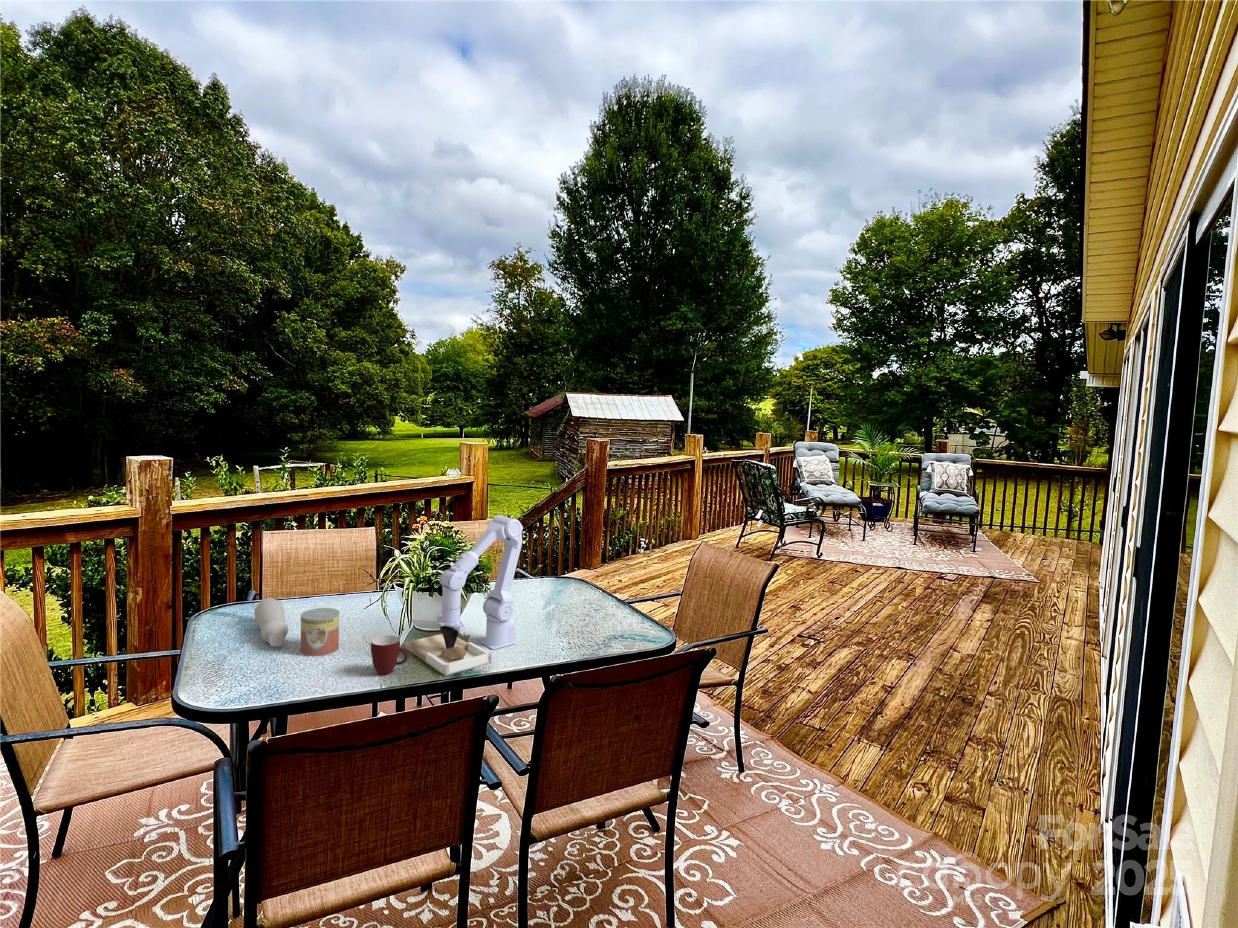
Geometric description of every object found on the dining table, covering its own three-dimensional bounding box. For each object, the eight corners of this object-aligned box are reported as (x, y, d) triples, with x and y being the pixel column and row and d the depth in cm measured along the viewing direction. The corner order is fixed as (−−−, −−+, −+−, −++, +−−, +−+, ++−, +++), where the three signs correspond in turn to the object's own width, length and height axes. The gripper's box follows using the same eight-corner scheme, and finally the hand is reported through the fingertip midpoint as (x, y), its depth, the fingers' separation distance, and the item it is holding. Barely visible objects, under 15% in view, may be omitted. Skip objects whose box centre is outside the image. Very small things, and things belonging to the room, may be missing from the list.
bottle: (247, 614, 222) (253, 646, 197) (264, 591, 224) (272, 620, 199) (272, 624, 226) (281, 657, 202) (288, 602, 228) (299, 632, 204)
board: (448, 637, 219) (449, 632, 219) (470, 650, 209) (470, 644, 209) (405, 648, 208) (405, 642, 208) (425, 661, 198) (425, 655, 198)
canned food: (296, 657, 196) (296, 620, 195) (304, 643, 207) (304, 608, 206) (335, 655, 199) (336, 618, 198) (341, 642, 210) (342, 607, 209)
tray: (470, 650, 209) (470, 641, 209) (491, 662, 200) (491, 653, 200) (425, 662, 198) (425, 652, 198) (445, 675, 189) (445, 666, 189)
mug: (408, 665, 195) (409, 634, 194) (406, 676, 187) (407, 644, 186) (371, 667, 192) (372, 635, 191) (368, 679, 184) (369, 645, 183)
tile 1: (457, 650, 204) (458, 645, 204) (465, 655, 200) (466, 650, 200) (443, 653, 200) (443, 649, 200) (451, 658, 197) (451, 654, 197)
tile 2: (455, 653, 205) (456, 649, 205) (463, 658, 201) (464, 654, 201) (441, 657, 201) (442, 652, 201) (449, 662, 198) (450, 657, 198)
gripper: (428, 603, 204) (427, 643, 205) (451, 615, 194) (450, 658, 195) (448, 599, 209) (447, 639, 210) (471, 611, 199) (470, 653, 200)
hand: (450, 648), depth 203 cm, fingers closed
